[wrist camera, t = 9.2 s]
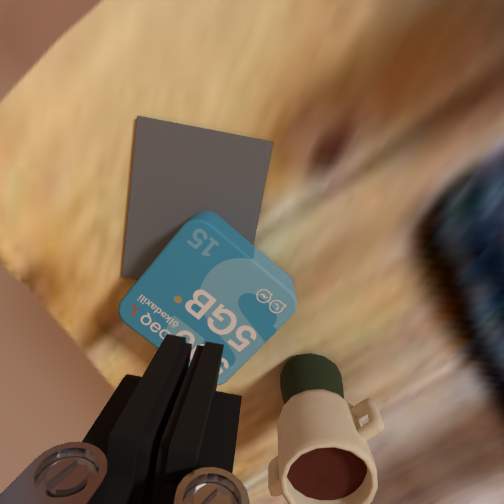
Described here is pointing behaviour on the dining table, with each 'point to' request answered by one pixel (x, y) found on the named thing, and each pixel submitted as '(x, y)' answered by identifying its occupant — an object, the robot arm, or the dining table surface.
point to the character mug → (322, 438)
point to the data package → (211, 293)
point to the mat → (189, 185)
